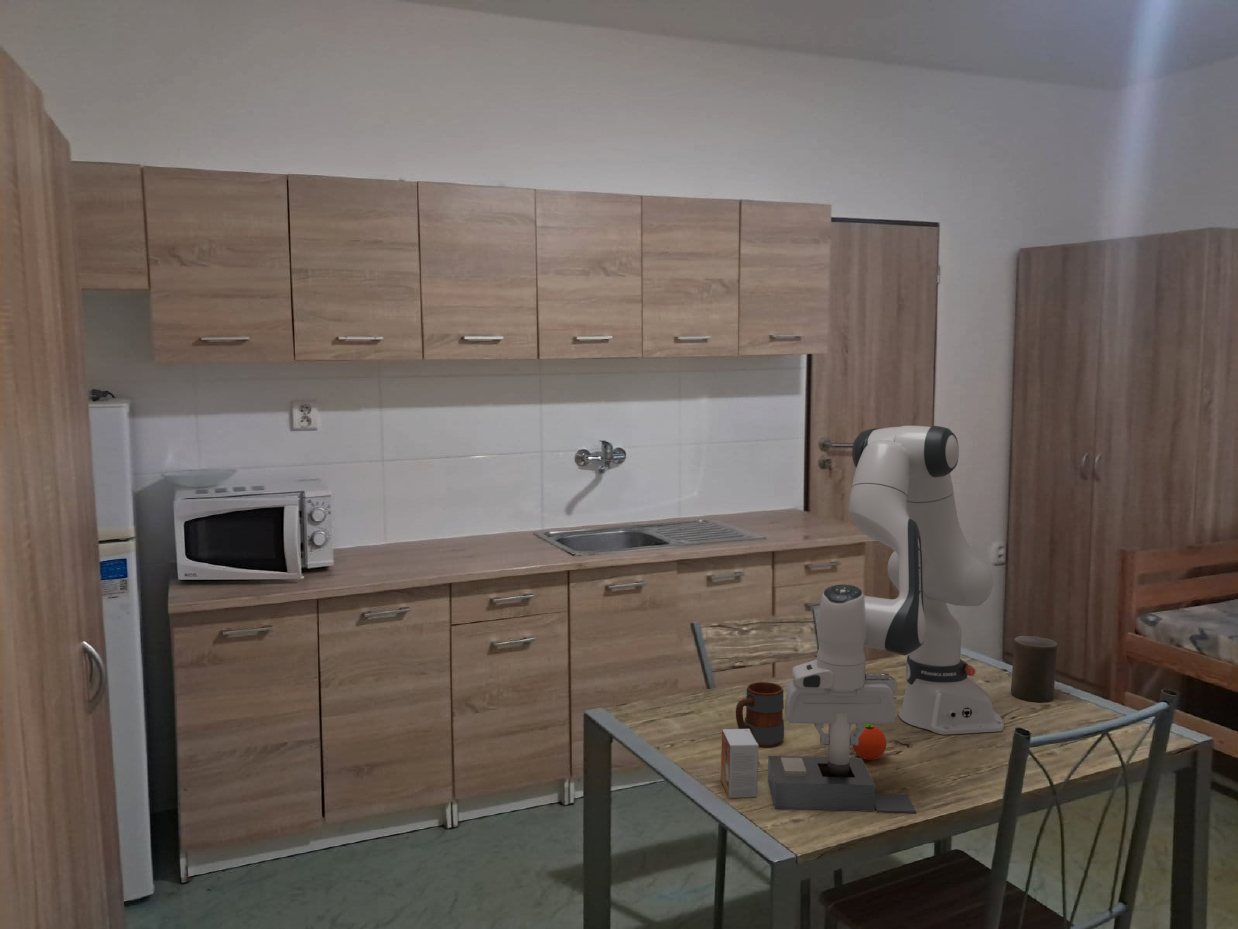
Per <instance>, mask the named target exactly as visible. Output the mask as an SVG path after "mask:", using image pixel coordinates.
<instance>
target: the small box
mask: <svg viewBox="0 0 1238 929" xmlns="http://www.w3.org/2000/svg"><path fill="white" fill-rule="evenodd" d="M759 748H760V746H759V745H758V744H757V742H756V740H755V739H754V737H753V735H752V733H751V731H750V729H739V728H731V729H730V728H729V729H727V728H724V729H723V728H722V730H721V748H720V749H721V752H720V753H721V756H720V757H721V758H720V781H721V783H722V784H723V788H724V790H725V792H726V796H727V797H728V799H740V798H742V799H743V798H746V799H747V798H748V799H749V798H757V797H758V774H759V773H758V772H759V770H758V769H759Z"/></svg>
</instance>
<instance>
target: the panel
mask: <svg viewBox="0 0 1238 929" xmlns="http://www.w3.org/2000/svg"><path fill="white" fill-rule="evenodd" d="M767 756H768V757H767V758H768V759H767V783H768V787H769V790H770V794H771V798H772V803H773V806H774V809H775V810H806V811H807V810H809V811H812V810H814V811H849V812H850V811H853V812H854V811H855V812H857V811H858V812H860V811H861V812H875V807H874V798H875V792H876V791H875V790H876V784H875V782H874V780H873V778H872V776H871V774H870V772H869V769H868V768H867V766H866V764H865V762H864V759H863V758H861V757H850V762H849V773H848V774H846V775H835V774H832V773H830V772H828V756H801V755H800V756H796V755H795V756H792V755H791V756H789V755H767Z"/></svg>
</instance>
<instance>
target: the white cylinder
mask: <svg viewBox="0 0 1238 929" xmlns="http://www.w3.org/2000/svg"><path fill="white" fill-rule="evenodd" d="M851 725H852V724H848V723H847V713H836V722H835V723H834V724H829V723H828V736H829V745H827V757H828V772H830V773H832V774H835V775H846V774H848V773H849V762H850V758H851V757H850V756H851V755H850V754H851V745H850V734H851Z"/></svg>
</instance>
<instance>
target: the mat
mask: <svg viewBox="0 0 1238 929" xmlns="http://www.w3.org/2000/svg"><path fill="white" fill-rule="evenodd" d="M874 810H876V813H879V814H880V813H883V814H917V810H916V809H915V806H914V805H913V803H912V801H911V799H910V798H909V796H908V794H907V793H885V792H884V793H883V792H882V793H879V792H877V793H875V798H874Z"/></svg>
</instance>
